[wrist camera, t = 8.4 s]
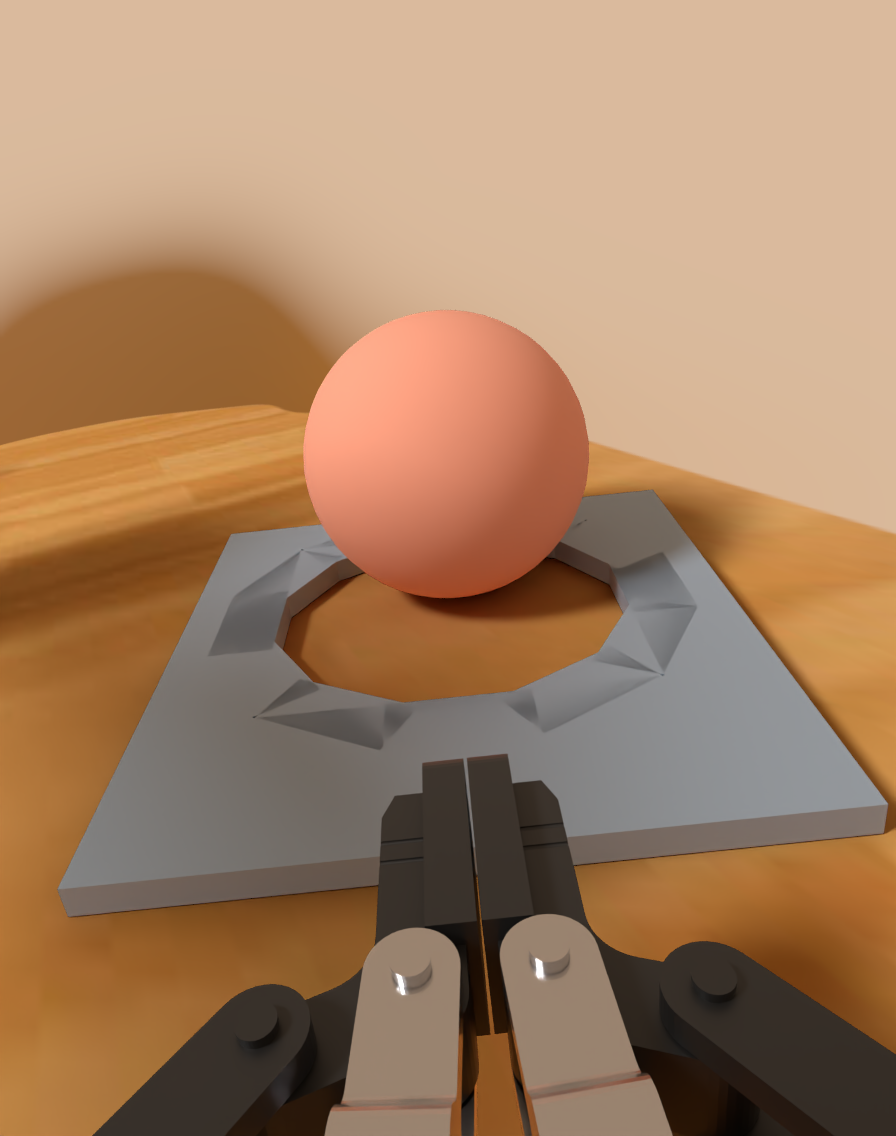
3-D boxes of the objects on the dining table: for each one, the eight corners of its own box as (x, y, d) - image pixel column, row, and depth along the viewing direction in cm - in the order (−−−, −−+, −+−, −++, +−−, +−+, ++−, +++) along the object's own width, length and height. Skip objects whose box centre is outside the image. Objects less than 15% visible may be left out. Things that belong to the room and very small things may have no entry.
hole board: (883, 833, 23) (888, 804, 22) (68, 916, 23) (57, 889, 22) (652, 507, 44) (652, 489, 44) (235, 551, 44) (231, 533, 44)
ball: (205, 390, 31) (280, 524, 42) (447, 600, 27) (458, 685, 39) (432, 194, 34) (445, 369, 45) (676, 364, 30) (624, 507, 41)
